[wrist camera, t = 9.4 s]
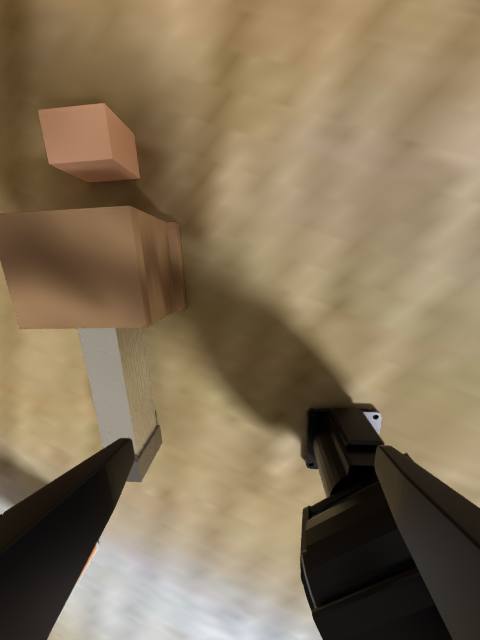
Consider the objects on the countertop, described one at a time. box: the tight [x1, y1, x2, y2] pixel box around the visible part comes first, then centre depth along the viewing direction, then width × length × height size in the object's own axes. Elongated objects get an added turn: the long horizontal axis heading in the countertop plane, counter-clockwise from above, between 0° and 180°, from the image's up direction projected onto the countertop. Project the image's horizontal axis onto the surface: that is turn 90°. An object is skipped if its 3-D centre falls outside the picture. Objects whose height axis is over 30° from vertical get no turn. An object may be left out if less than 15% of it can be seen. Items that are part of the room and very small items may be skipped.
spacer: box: [38, 103, 140, 183], centre depth 16 cm, size 4×4×3 cm
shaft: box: [78, 328, 162, 482], centre depth 19 cm, size 18×3×4 cm, turn 2°
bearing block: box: [0, 206, 187, 329], centre depth 17 cm, size 7×10×6 cm
